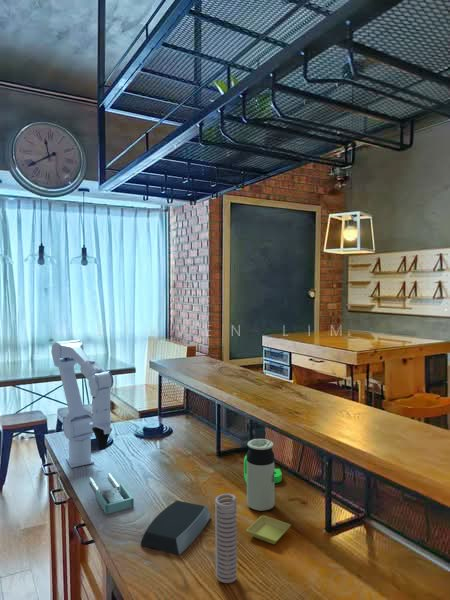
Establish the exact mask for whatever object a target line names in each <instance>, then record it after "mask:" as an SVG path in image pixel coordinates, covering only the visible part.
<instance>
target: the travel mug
mask: <svg viewBox="0 0 450 600" xmlns="http://www.w3.org/2000/svg"><path fill="white" fill-rule="evenodd" d="M247 446H248V450H247V452H246V455H247V484H246V505H247V506H248V507H249V508H251V509H253V510H255V511H262V512H263V511H267V510H271V509H273V508H274V506H275V483H274V469H275V453H274V451H273V447H274V442H273V441H271V440H269V439H265V438H254V439H251V440H249V441H248V442H247Z"/></svg>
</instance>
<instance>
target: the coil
mask: <svg viewBox="0 0 450 600" xmlns="http://www.w3.org/2000/svg"><path fill="white" fill-rule="evenodd" d="M237 505H238V504H237V496H236V495H235V494H233V493H232V494H231V493H222V494H219V495H217V496H216V497H215V500H214V507H215V509H214V512H215V514H214V515H215V516H214V517H215V519H214V520H215V524H214V525H215V527H214V528H215V531H214V532H215V541H214V542H215V577H216V579H217V580H218V581H219V582H222V583H223V584H224V583H225V584H230V583H233V582H235V581H236V580H237V578H238V576H237V573H238V570H237V568H238V565H237V564H238V561H237V559H238V555H237V554H238V552H237V550H238V548H237V546H238V544H237V543H238V542H237V540H238V539H237V536H238V535H237V530H238V529H237V527H238V526H237V523H238V521H237V518H238V517H237V513H238V512H237Z"/></svg>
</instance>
